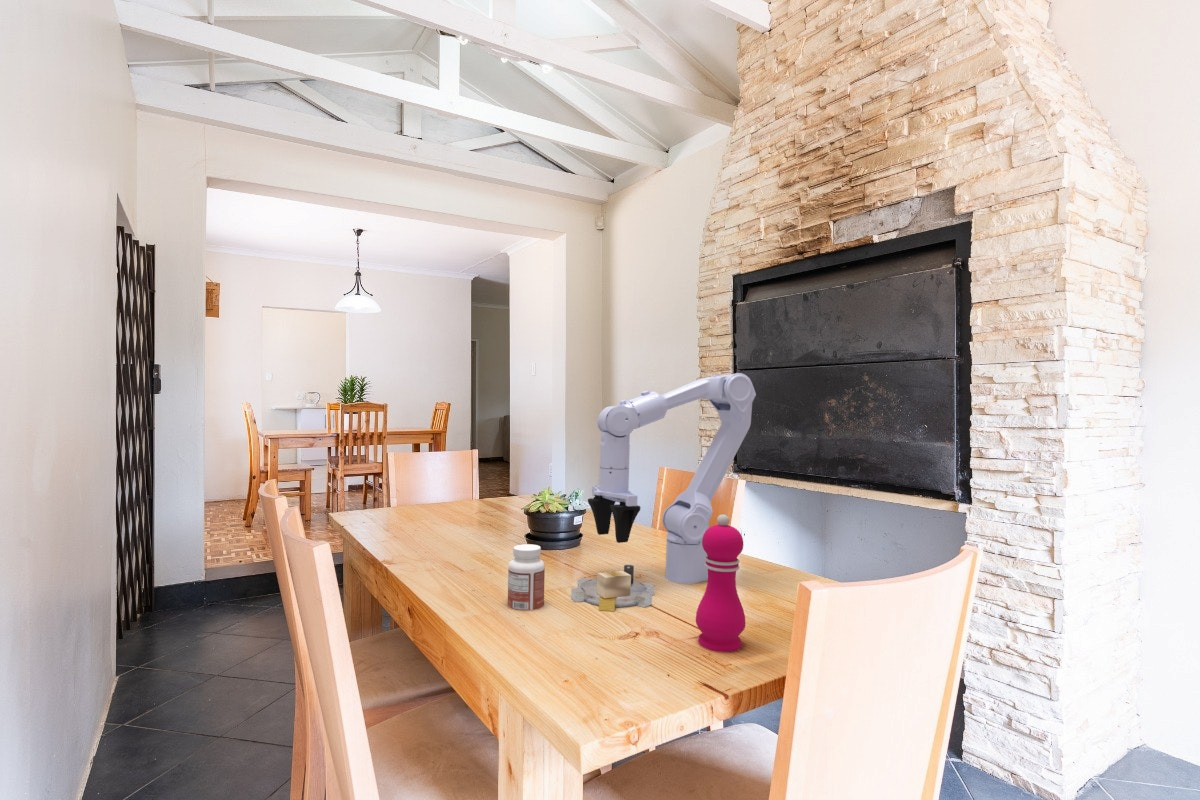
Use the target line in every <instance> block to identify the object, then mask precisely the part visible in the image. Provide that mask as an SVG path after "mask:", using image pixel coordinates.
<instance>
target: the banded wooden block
mask: <svg viewBox="0 0 1200 800" xmlns="http://www.w3.org/2000/svg"><path fill="white" fill-rule="evenodd" d="M596 576H597V577H596V579H597V590H596V593H597V594H598V595H600V596H601V597H603V598H614V597H622V596H630V589H631V575H630V574H628V573H626V572H624V570H615V571H613V570H610V571H605V572H597V575H596Z"/></svg>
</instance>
